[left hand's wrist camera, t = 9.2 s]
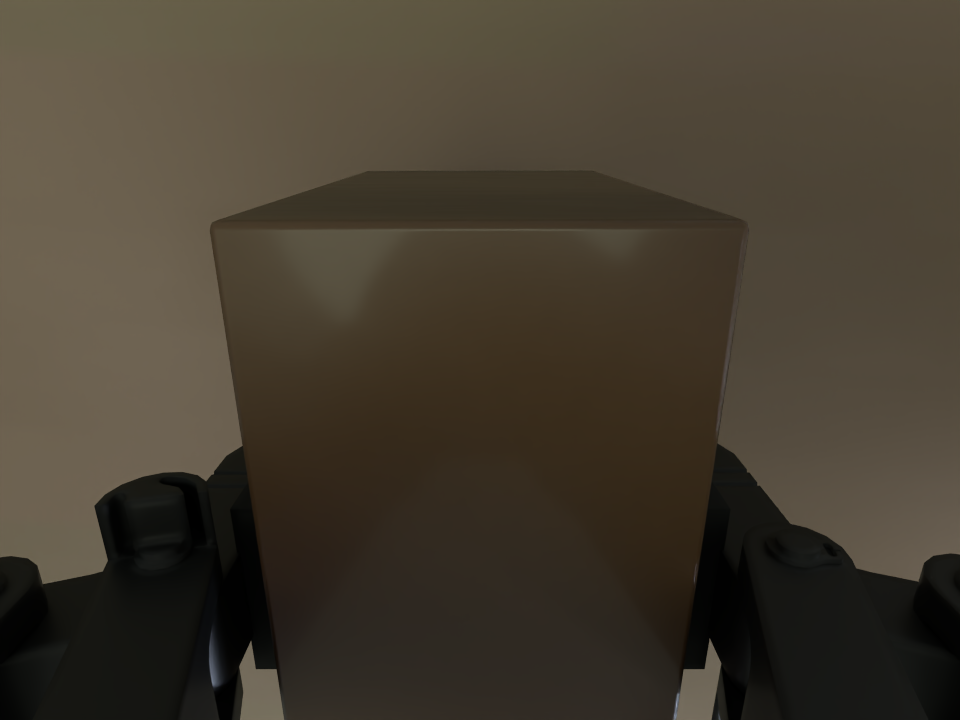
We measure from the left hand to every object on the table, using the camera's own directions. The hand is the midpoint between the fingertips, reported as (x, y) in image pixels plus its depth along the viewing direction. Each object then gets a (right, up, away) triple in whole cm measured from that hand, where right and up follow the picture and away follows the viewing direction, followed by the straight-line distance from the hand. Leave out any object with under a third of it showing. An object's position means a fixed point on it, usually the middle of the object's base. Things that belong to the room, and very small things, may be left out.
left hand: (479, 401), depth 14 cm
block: (0, -23, +9) cm, 24 cm away
